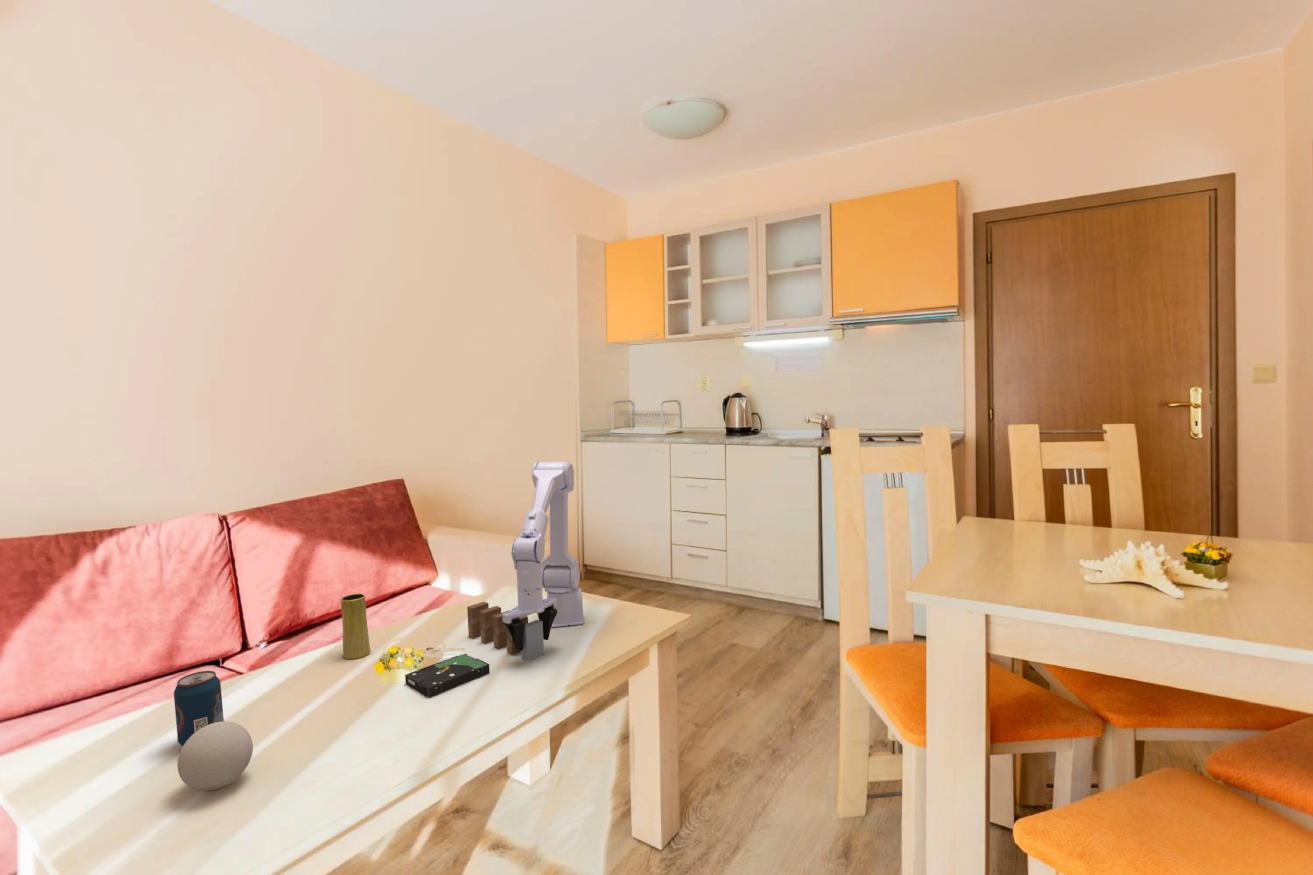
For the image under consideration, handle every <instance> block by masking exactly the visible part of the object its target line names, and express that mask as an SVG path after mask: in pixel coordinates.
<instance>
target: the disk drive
mask: <svg viewBox="0 0 1313 875" xmlns="http://www.w3.org/2000/svg"><path fill="white" fill-rule="evenodd" d="M490 671H491V670H490V663H488V662H486V661H485V660H484V661H483V660H482V659H480V658H477V657H476V658H475V657H473V656H471V655H468V653H463V654H459V655H455V656H452V657H449V658H447V659H444V660H441V661H439V662H437V663H434V664H431V665H428V666H426V667H422V668H420V669H416V670H415V671H411V672H409V673H407V674H405V675H404V679H405V685H406V686H408V687H409V688H411V689H413V690H414V691H416V692H418V693H419V694H420V695H423V696H424V697H426V698H427V699H430V698H434V697H436V696H439V695H441V694H443V693H446V692H447V691H450V690H453V689H455V688H457V687H461V686H462V685H464V684H468V683H470V682H472V681H474V680H478V679H480V678H482V677H484V676H487V675H490V674H491V673H490Z"/></svg>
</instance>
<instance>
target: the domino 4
mask: <svg viewBox="0 0 1313 875" xmlns="http://www.w3.org/2000/svg"><path fill="white" fill-rule="evenodd" d="M544 647H545V646H544V639H543V621H540V620H539V619H536V620H533V621H530V622H528V623H527V624H525V628H524V634H523V650H522V651H521V652H520V654H521V660H523V661H526V662H529V661H531V660H534V659H536V658H538V657H541V656H543V655H545V650H544Z"/></svg>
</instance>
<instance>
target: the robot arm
mask: <svg viewBox="0 0 1313 875" xmlns="http://www.w3.org/2000/svg"><path fill="white" fill-rule="evenodd" d="M531 479H532V483H533V486H534V488H535V489H534V495H533V499H532V500H533V501H532V506H531V509H530V510H528V511H527V512H526V513H525V516H524V519H523V522H522V526H521V529H520V532H519V536H518V537H517V538H516V539H514V540H513V542H512V545H511V552H510V553H511V554H510V555H511V559H512V561H513V568H514V570H516V586H517V606H515V607H513V608H512V609H509V610H510V611H508V610H507V611H508V612H506V611H505V612H506V613H504V614H502V615H503V622H504V624H505V626H506V627H507V629H508V630H509V632H510V634H511V637H512V639H513V642H514V646H515V649H517V650H519V651H522V650H523V634H524V628H525V623H523V622H521V620H520V618H522V617H525V616H528V617H529V616H531V615H534V614H537V617H538V620H540V621H543V641H549V639H550V635H551V631H552V628H559V627H568V625H569V626H576V625H584V608H583V603H584V602H583V592H582V588H581V587H579V584H580V580H581V571H580V570H581V569H580V567H579V565H580V564H579V560H578V559H577V558H576V557H575V556H573V555H572V554H571V553H569V522H568V521H569V520H568V519H569V517H568V515H569V513H568V512H569V511H568V509H569V508H568V507H569V502H568V500H569V499H568V498H569V493H571V492H572V491H574V486H575V470H574V466H573V464H572V463H571V462H570V461H568V460H567V461H542V462H540V461H535V463H534V464H533V466H532V468H531ZM548 508H549V516H548V514H547V511H548ZM548 524H549V551H550V552H549V554H548V555H547V556H546V557H545V558H544V556H545V547H546V546H545V545H546V539H545V537H546V531H547V528H548ZM543 589H544V592H546V593H547V594H546V597H547V598H545V599H544V598H543V597H544V596H543Z"/></svg>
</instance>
